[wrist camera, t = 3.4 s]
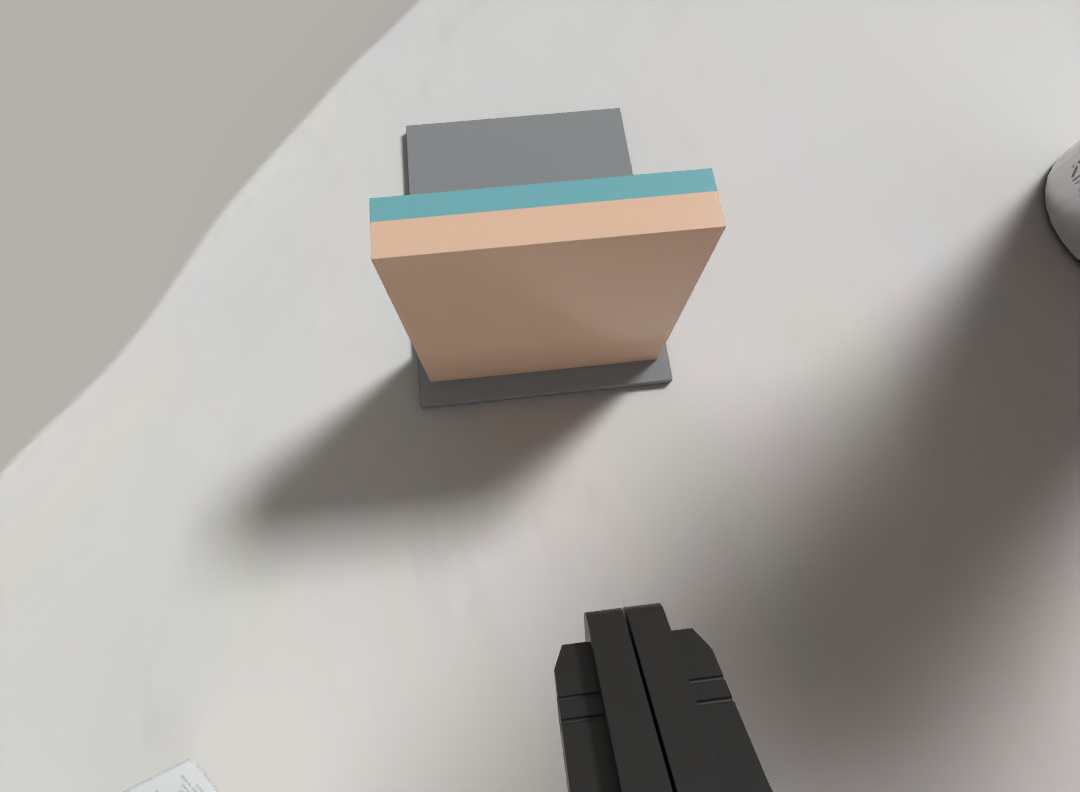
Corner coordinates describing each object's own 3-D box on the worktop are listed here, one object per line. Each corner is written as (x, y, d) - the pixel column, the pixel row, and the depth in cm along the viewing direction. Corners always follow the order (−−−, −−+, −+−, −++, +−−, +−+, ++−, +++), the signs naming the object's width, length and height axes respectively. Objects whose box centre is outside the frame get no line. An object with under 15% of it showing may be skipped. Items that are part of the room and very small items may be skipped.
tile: (649, 318, 27) (711, 168, 18) (657, 359, 26) (726, 226, 17) (428, 340, 27) (369, 198, 17) (431, 382, 26) (371, 259, 16)
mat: (618, 113, 31) (619, 107, 31) (670, 382, 26) (672, 379, 26) (407, 131, 31) (406, 125, 30) (422, 408, 26) (420, 405, 26)
